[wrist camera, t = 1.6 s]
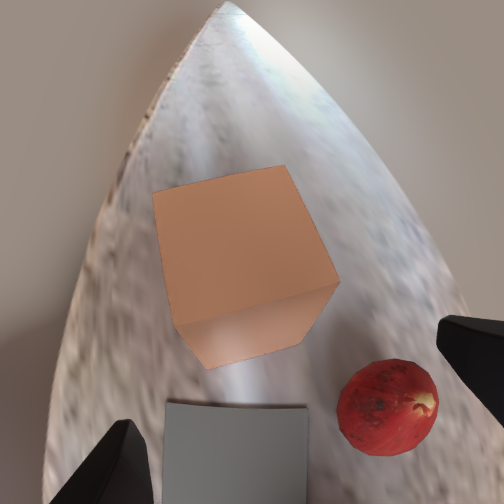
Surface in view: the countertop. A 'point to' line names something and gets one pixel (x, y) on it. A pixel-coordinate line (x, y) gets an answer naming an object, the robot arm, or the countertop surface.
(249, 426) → the mat
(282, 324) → the tan rectangular block
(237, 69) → the countertop surface
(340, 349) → the countertop surface
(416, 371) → the onion
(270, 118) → the countertop surface
